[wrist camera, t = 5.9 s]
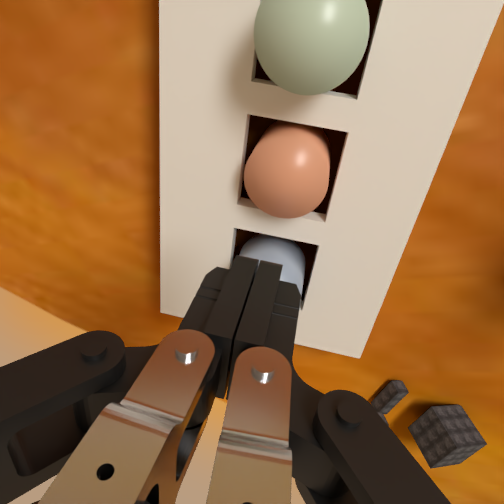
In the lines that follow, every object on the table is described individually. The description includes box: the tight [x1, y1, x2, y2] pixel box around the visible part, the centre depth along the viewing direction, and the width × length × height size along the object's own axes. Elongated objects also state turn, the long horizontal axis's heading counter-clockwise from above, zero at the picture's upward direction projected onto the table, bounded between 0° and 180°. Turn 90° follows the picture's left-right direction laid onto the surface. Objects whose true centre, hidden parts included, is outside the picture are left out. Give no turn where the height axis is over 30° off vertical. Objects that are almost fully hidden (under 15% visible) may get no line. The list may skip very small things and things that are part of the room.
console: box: [159, 0, 504, 359], centre depth 22 cm, size 14×24×3 cm, turn 173°
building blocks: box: [371, 380, 487, 468], centre depth 30 cm, size 3×6×8 cm
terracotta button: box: [244, 120, 331, 219], centre depth 21 cm, size 4×4×4 cm
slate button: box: [239, 234, 306, 309], centre depth 23 cm, size 4×4×4 cm
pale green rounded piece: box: [254, 0, 370, 95], centre depth 16 cm, size 4×4×4 cm
